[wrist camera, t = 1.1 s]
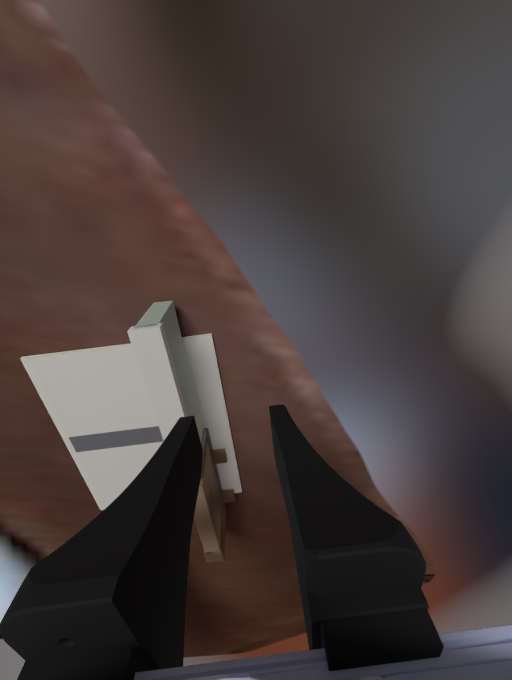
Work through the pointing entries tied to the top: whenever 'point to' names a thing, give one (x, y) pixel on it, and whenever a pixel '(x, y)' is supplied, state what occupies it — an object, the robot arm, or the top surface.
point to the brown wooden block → (212, 506)
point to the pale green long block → (165, 368)
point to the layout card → (125, 412)
